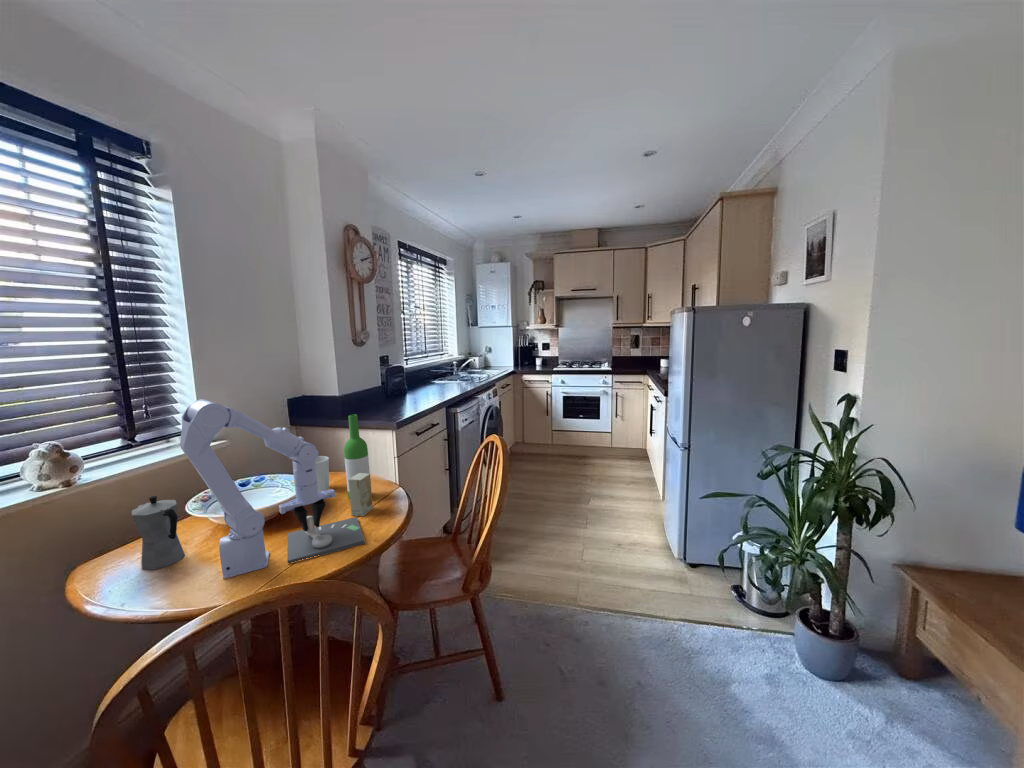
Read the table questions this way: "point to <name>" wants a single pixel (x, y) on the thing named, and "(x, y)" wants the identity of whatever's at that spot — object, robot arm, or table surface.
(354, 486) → the skincare box
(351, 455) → the wine bottle
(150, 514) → the coffeepot
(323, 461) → the cup
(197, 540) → the table surface
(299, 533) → the gauge board
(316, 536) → the tuning lever
